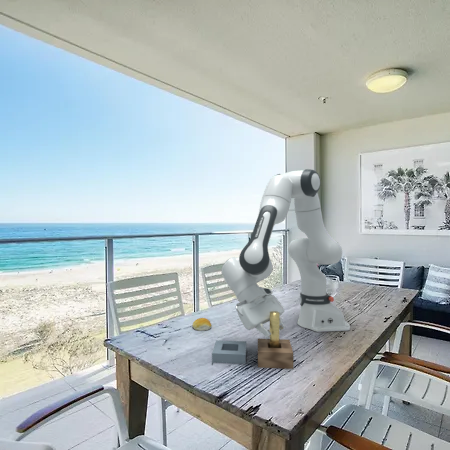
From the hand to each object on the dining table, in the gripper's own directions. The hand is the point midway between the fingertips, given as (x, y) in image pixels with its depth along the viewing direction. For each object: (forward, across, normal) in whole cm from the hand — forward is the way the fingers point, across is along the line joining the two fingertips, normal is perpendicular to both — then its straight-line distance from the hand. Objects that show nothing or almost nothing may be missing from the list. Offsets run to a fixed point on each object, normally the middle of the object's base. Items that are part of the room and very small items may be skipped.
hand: (276, 332), depth 104 cm
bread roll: (-23, +9, +38) cm, 45 cm away
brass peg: (+6, 0, +7) cm, 9 cm away
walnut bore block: (+7, 0, +8) cm, 10 cm away
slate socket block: (-3, -7, +17) cm, 19 cm away
